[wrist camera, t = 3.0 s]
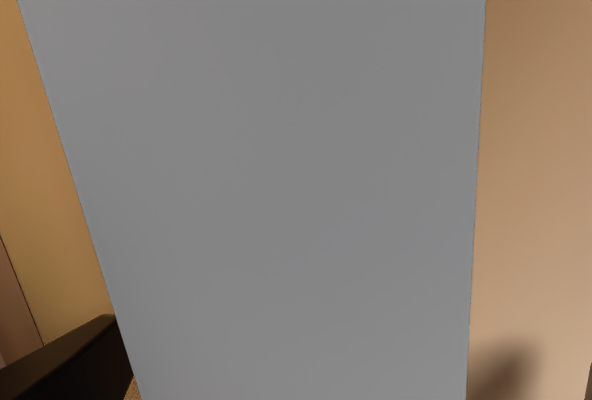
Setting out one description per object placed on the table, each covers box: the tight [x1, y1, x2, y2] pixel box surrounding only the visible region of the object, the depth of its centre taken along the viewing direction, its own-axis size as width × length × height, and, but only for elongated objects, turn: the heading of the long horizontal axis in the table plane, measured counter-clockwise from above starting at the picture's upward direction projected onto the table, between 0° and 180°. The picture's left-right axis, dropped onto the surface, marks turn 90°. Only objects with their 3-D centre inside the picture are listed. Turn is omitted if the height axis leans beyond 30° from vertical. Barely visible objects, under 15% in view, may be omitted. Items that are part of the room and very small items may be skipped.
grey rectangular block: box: [17, 0, 486, 400], centre depth 8 cm, size 4×14×4 cm, turn 6°
